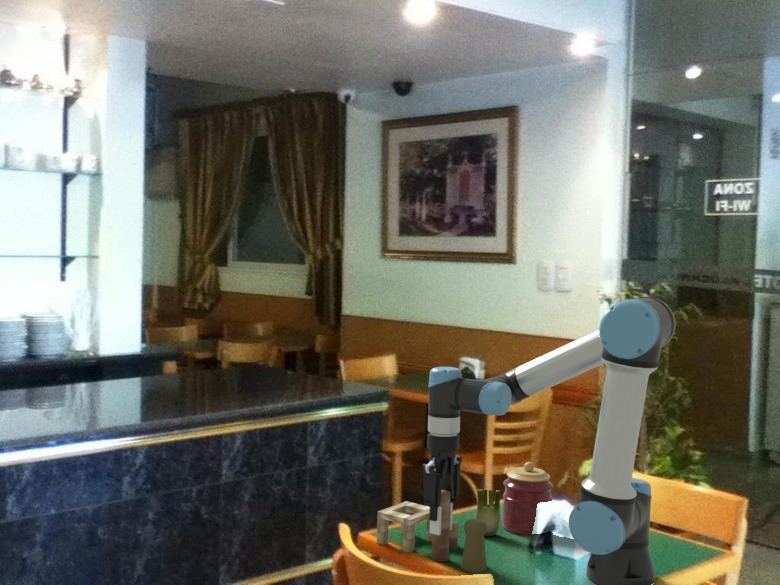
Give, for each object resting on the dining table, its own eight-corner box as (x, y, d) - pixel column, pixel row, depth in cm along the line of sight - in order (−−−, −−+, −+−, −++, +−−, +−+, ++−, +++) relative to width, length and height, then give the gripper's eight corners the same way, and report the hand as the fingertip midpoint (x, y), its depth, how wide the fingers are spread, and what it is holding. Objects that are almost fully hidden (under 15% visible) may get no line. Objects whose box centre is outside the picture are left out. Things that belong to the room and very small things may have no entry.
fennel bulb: (500, 534, 244) (502, 488, 243) (492, 539, 240) (494, 493, 239) (480, 530, 247) (481, 485, 246) (472, 535, 243) (473, 489, 242)
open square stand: (437, 540, 238) (438, 508, 238) (409, 552, 229) (410, 519, 228) (405, 531, 244) (406, 501, 244) (376, 543, 235) (377, 511, 234)
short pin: (461, 546, 234) (461, 522, 234) (452, 550, 231) (452, 526, 230) (447, 543, 236) (448, 519, 236) (438, 547, 233) (439, 523, 233)
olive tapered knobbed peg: (485, 572, 216) (487, 525, 216) (459, 570, 218) (460, 523, 217) (488, 563, 222) (490, 517, 222) (462, 561, 224) (464, 515, 223)
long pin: (451, 558, 225) (453, 491, 224) (442, 562, 222) (444, 495, 221) (437, 554, 227) (439, 488, 226) (428, 558, 224) (430, 492, 223)
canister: (492, 523, 253) (494, 458, 252) (533, 518, 259) (536, 454, 258) (519, 538, 241) (521, 470, 240) (561, 532, 247) (564, 466, 246)
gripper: (450, 425, 232) (447, 519, 233) (409, 436, 218) (406, 536, 220) (476, 430, 227) (473, 526, 229) (436, 441, 214) (433, 543, 215)
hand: (440, 531), depth 224 cm, fingers closed on long pin, 4 cm apart
